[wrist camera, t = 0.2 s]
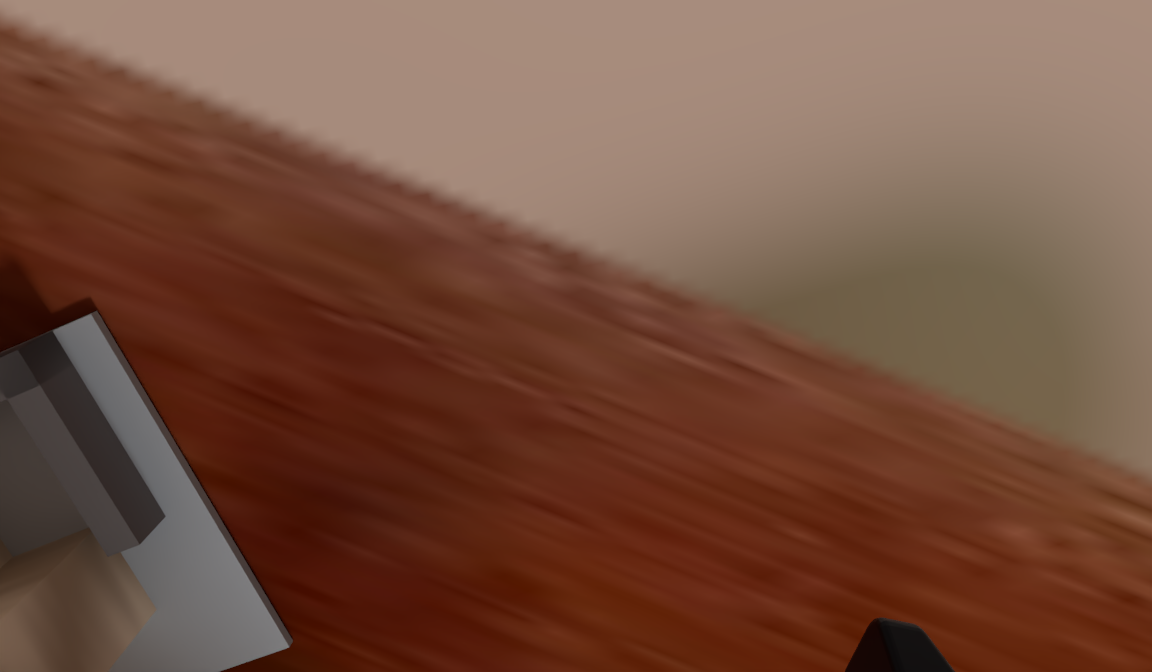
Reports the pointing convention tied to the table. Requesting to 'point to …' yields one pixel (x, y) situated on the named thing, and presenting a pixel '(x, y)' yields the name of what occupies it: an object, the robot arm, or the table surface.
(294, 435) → the table surface
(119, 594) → the t block
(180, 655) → the t bay
